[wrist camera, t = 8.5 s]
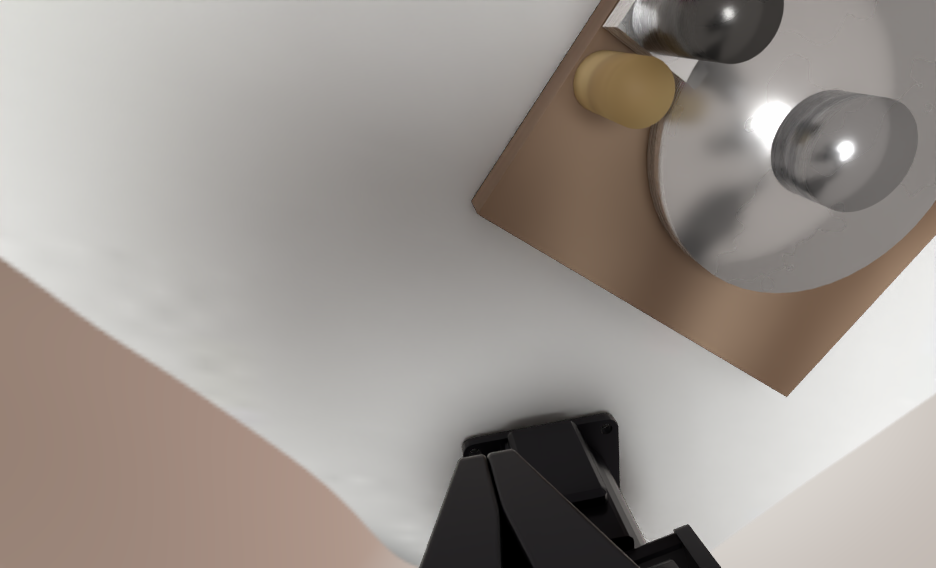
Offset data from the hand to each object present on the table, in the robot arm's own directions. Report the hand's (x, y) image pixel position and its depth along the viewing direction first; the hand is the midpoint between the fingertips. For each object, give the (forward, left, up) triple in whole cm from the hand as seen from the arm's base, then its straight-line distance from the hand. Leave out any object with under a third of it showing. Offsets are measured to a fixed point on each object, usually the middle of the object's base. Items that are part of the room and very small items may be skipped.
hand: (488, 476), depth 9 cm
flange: (+2, -11, -11) cm, 16 cm away
